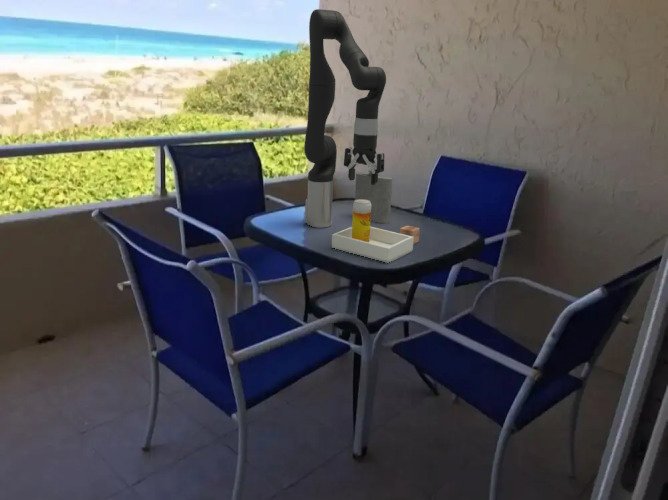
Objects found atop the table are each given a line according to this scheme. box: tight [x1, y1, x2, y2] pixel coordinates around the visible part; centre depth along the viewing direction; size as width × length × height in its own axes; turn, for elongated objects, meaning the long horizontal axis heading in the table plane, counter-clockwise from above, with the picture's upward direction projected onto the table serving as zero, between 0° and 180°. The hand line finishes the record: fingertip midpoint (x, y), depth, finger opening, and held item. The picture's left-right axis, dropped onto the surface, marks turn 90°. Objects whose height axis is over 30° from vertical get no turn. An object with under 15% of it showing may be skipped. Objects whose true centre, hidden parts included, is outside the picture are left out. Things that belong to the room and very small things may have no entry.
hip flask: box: [354, 168, 393, 225], centre depth 225 cm, size 16×4×20 cm, turn 54°
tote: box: [331, 226, 414, 264], centre depth 194 cm, size 22×16×5 cm
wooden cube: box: [399, 225, 420, 245], centre depth 203 cm, size 5×5×5 cm
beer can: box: [351, 199, 372, 242], centre depth 194 cm, size 6×6×15 cm
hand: (362, 182), depth 190 cm, fingers open, 8 cm apart
